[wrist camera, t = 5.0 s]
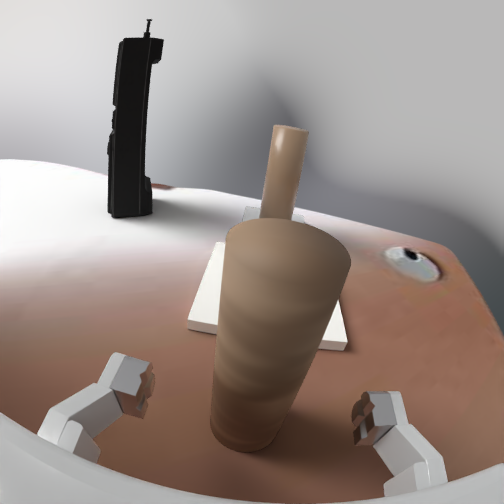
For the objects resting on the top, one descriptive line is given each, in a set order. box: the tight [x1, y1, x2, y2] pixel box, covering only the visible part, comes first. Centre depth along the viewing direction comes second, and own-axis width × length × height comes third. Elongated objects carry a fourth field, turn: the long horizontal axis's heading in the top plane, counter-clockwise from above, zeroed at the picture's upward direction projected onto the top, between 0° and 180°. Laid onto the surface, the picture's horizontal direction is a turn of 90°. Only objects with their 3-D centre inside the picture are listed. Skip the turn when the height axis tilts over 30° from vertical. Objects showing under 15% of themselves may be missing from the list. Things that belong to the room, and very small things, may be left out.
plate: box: [188, 242, 347, 351], centre depth 26 cm, size 12×12×1 cm
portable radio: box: [107, 19, 164, 217], centre depth 32 cm, size 8×6×25 cm
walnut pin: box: [210, 218, 351, 452], centre depth 12 cm, size 4×4×12 cm
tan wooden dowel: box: [242, 125, 309, 224], centre depth 34 cm, size 8×8×13 cm
